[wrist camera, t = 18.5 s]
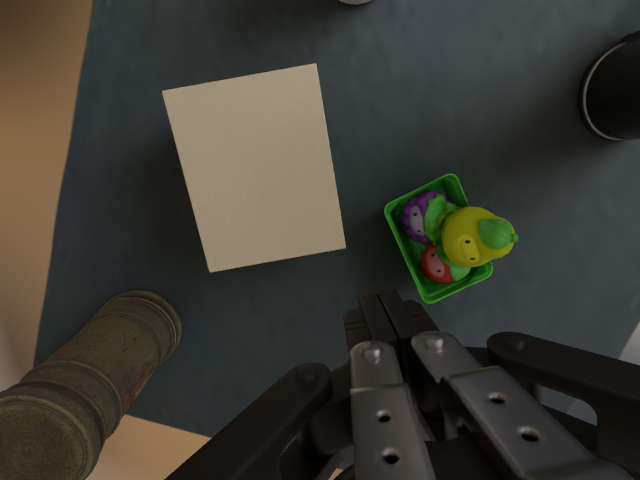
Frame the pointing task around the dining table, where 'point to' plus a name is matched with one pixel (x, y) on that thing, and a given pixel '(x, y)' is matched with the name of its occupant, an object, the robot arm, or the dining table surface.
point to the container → (85, 389)
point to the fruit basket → (446, 237)
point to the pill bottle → (355, 1)
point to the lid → (258, 166)
